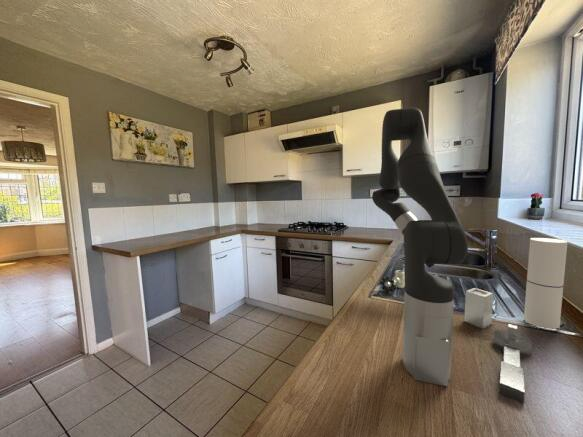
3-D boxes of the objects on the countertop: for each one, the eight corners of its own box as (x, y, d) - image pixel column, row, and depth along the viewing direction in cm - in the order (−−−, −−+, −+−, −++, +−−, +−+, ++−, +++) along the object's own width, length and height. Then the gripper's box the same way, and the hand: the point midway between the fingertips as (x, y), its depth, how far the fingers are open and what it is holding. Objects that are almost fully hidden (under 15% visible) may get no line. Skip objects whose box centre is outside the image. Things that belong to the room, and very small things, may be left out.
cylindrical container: (522, 323, 70) (528, 240, 67) (525, 315, 74) (531, 236, 72) (558, 334, 64) (567, 243, 62) (559, 324, 69) (567, 240, 66)
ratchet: (493, 335, 64) (494, 316, 64) (530, 346, 59) (531, 325, 59) (487, 388, 47) (488, 362, 46) (537, 409, 42) (540, 380, 42)
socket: (491, 324, 69) (493, 293, 69) (482, 328, 67) (484, 296, 66) (472, 317, 74) (474, 287, 73) (464, 321, 72) (465, 290, 71)
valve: (394, 283, 103) (379, 290, 96) (395, 268, 103) (379, 274, 95) (409, 287, 98) (395, 295, 91) (410, 272, 98) (395, 278, 90)
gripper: (403, 222, 83) (435, 262, 74) (429, 219, 89) (460, 255, 80) (391, 234, 88) (418, 273, 79) (415, 231, 94) (444, 266, 85)
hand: (439, 264), depth 79 cm, fingers open, 8 cm apart
